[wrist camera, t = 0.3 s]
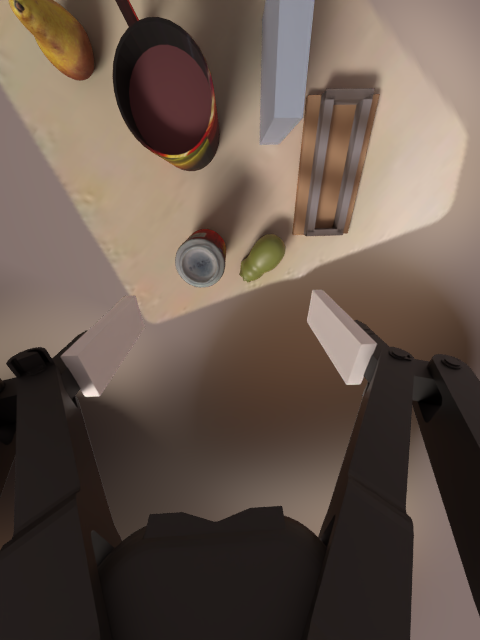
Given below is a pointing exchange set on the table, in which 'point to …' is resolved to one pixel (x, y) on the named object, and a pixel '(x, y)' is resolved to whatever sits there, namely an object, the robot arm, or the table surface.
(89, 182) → the table surface
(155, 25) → the mug
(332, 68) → the table surface
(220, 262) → the soda can
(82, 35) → the fruit
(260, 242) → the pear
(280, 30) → the door panel
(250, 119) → the table surface
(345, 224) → the track base
